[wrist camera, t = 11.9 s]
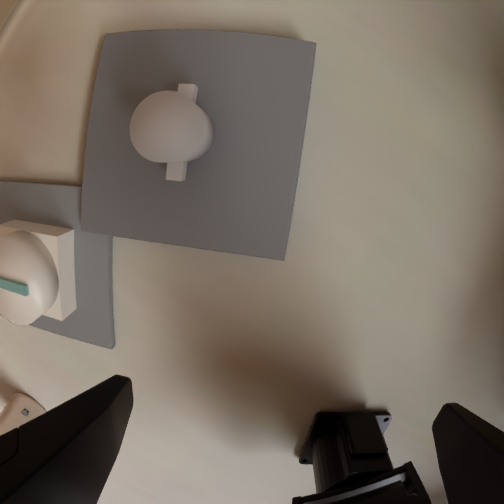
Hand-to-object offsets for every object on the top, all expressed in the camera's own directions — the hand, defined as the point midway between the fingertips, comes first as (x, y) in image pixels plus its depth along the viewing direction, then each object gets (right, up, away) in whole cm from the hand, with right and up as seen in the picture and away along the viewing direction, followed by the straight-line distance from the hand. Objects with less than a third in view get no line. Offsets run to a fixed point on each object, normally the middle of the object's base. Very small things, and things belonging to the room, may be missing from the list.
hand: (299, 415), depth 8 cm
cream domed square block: (-16, +3, +11) cm, 20 cm away
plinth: (-5, +11, +10) cm, 15 cm away
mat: (-16, +4, +12) cm, 20 cm away
